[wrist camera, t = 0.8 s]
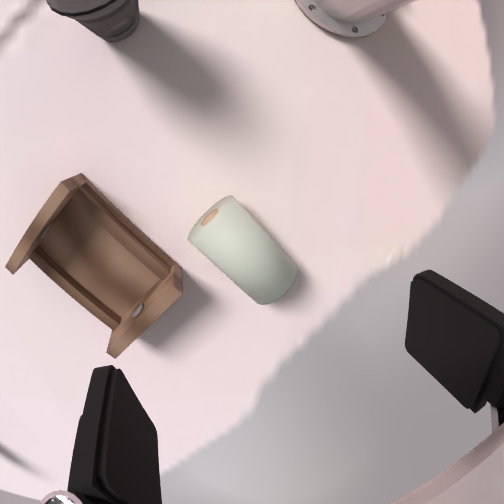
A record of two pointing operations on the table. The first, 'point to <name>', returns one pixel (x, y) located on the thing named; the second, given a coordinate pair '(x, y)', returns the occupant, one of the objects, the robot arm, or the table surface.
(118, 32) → the beverage cup
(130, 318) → the walnut cradle
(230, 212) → the paper roll
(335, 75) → the table surface
